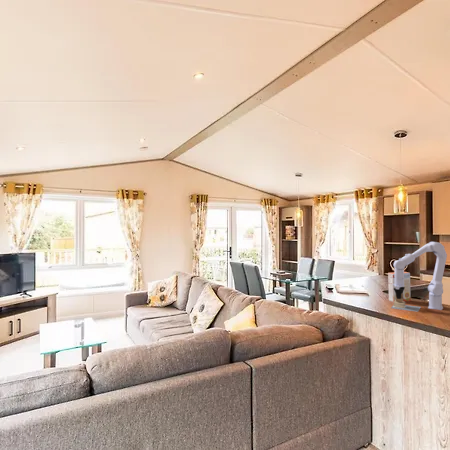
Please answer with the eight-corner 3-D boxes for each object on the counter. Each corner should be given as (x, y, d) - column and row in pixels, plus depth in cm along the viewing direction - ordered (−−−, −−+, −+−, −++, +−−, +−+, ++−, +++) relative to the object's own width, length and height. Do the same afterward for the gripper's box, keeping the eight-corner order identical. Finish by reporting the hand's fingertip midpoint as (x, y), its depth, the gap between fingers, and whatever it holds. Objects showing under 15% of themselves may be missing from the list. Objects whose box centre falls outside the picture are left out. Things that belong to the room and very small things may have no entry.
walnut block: (396, 300, 229) (396, 292, 229) (403, 300, 226) (403, 293, 226) (395, 301, 226) (395, 293, 226) (402, 301, 223) (402, 294, 223)
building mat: (394, 304, 233) (394, 303, 233) (421, 307, 224) (421, 306, 224) (390, 308, 222) (390, 308, 222) (418, 312, 212) (418, 311, 212)
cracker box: (405, 299, 246) (404, 271, 246) (410, 301, 240) (410, 272, 240) (388, 300, 244) (387, 272, 244) (393, 302, 238) (393, 273, 238)
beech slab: (395, 304, 230) (395, 300, 230) (405, 306, 227) (405, 301, 227) (393, 306, 225) (393, 302, 225) (403, 307, 222) (403, 303, 222)
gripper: (394, 276, 234) (394, 295, 234) (390, 279, 222) (390, 299, 223) (406, 277, 230) (406, 296, 230) (402, 280, 218) (402, 300, 218)
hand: (399, 298), depth 226 cm, fingers closed on walnut block, 4 cm apart
